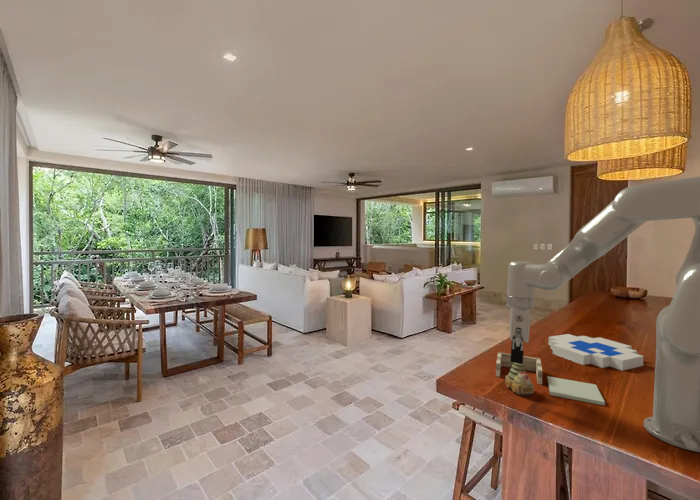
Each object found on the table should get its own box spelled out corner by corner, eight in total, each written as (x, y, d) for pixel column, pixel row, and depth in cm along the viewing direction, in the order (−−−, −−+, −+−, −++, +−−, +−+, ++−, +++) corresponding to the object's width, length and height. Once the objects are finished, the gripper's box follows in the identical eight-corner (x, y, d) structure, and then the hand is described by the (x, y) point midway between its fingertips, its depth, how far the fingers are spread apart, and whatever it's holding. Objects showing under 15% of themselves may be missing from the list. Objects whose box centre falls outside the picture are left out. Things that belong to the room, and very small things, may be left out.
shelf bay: (541, 384, 103) (542, 370, 103) (495, 376, 110) (496, 363, 109) (539, 371, 114) (540, 358, 114) (497, 363, 120) (498, 351, 120)
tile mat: (604, 405, 91) (604, 402, 91) (550, 395, 97) (550, 391, 97) (595, 387, 101) (595, 384, 101) (547, 379, 107) (547, 376, 107)
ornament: (537, 396, 96) (538, 363, 96) (520, 398, 95) (520, 364, 94) (518, 383, 104) (519, 353, 104) (501, 385, 103) (502, 354, 102)
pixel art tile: (656, 353, 121) (607, 363, 111) (656, 363, 121) (607, 375, 112) (580, 331, 147) (535, 338, 137) (580, 340, 148) (534, 348, 138)
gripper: (535, 309, 89) (531, 370, 90) (533, 298, 105) (529, 350, 106) (505, 306, 93) (501, 364, 94) (507, 295, 108) (504, 345, 109)
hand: (516, 356), depth 100 cm, fingers open, 9 cm apart
